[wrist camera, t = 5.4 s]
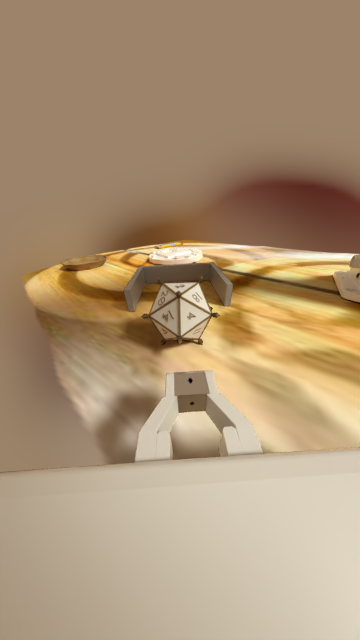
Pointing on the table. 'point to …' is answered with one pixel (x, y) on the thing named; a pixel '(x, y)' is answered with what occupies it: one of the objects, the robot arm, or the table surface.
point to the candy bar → (169, 245)
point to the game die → (180, 311)
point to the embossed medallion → (175, 256)
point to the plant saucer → (84, 262)
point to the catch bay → (177, 279)
